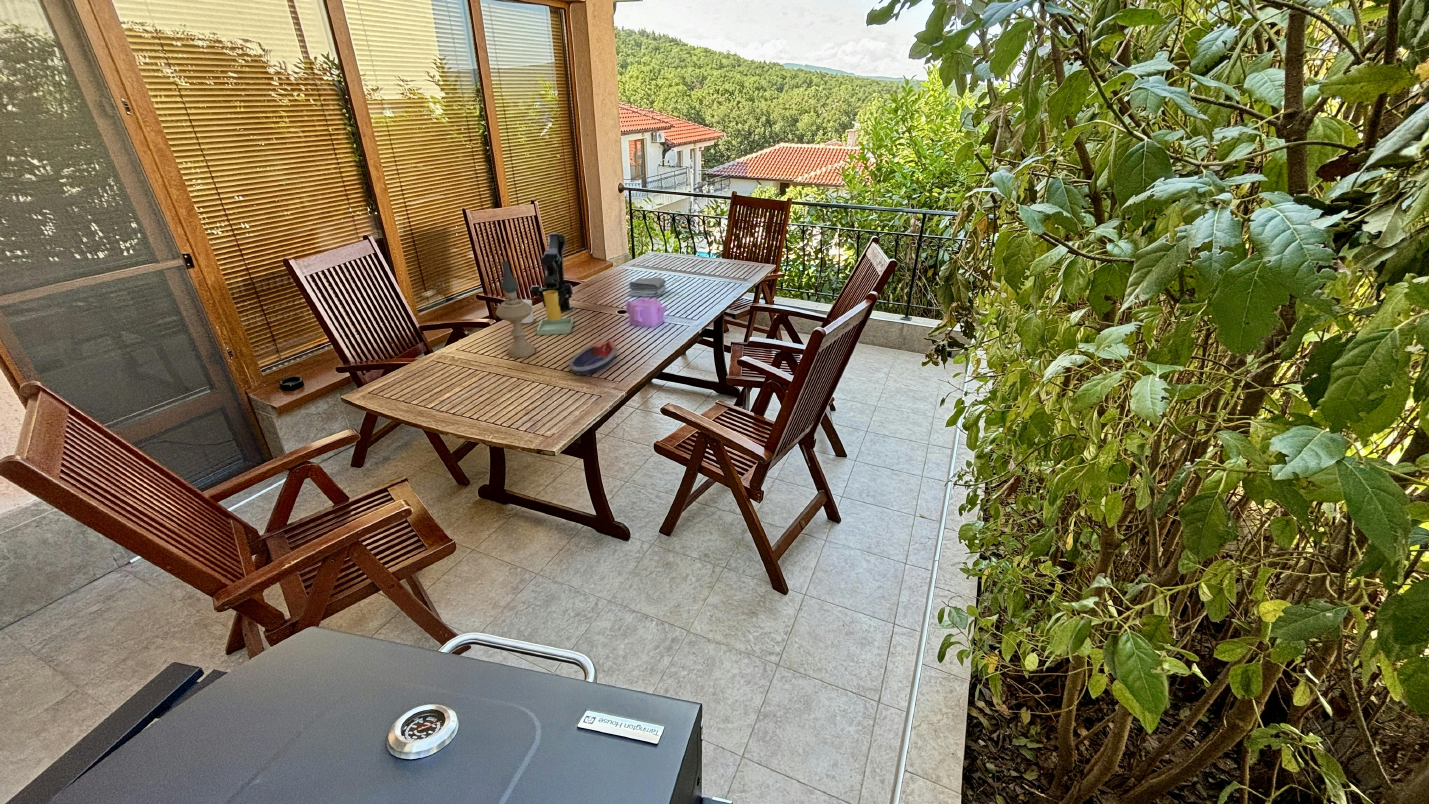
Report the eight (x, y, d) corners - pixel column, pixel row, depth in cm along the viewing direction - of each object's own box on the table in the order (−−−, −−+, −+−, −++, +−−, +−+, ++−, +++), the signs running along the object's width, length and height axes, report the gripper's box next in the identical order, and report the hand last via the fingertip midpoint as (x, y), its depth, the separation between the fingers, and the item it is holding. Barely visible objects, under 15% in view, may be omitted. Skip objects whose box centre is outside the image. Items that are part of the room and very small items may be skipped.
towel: (659, 297, 329) (658, 283, 326) (627, 296, 333) (626, 282, 329) (666, 289, 342) (666, 276, 339) (636, 288, 346) (635, 275, 342)
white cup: (537, 318, 302) (534, 299, 298) (531, 324, 295) (528, 304, 291) (522, 318, 303) (518, 299, 298) (516, 323, 296) (512, 304, 291)
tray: (542, 324, 295) (541, 319, 293) (573, 322, 296) (572, 317, 295) (537, 335, 281) (536, 330, 280) (569, 333, 282) (569, 328, 281)
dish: (559, 376, 239) (557, 364, 237) (598, 348, 264) (596, 337, 262) (593, 380, 234) (591, 369, 232) (629, 352, 260) (628, 341, 257)
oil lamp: (496, 356, 258) (477, 265, 240) (518, 344, 271) (501, 256, 252) (526, 360, 254) (508, 267, 235) (546, 348, 266) (531, 258, 248)
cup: (559, 315, 290) (556, 289, 284) (562, 319, 285) (558, 293, 279) (546, 317, 288) (542, 291, 282) (548, 321, 282) (544, 295, 276)
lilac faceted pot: (625, 319, 297) (623, 295, 292) (657, 314, 303) (656, 291, 298) (635, 330, 283) (633, 305, 278) (669, 325, 289) (667, 300, 284)
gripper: (527, 269, 278) (527, 299, 274) (568, 267, 280) (568, 297, 275) (533, 281, 289) (533, 310, 284) (572, 279, 290) (573, 308, 286)
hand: (551, 306), depth 282 cm, fingers closed on cup, 6 cm apart
